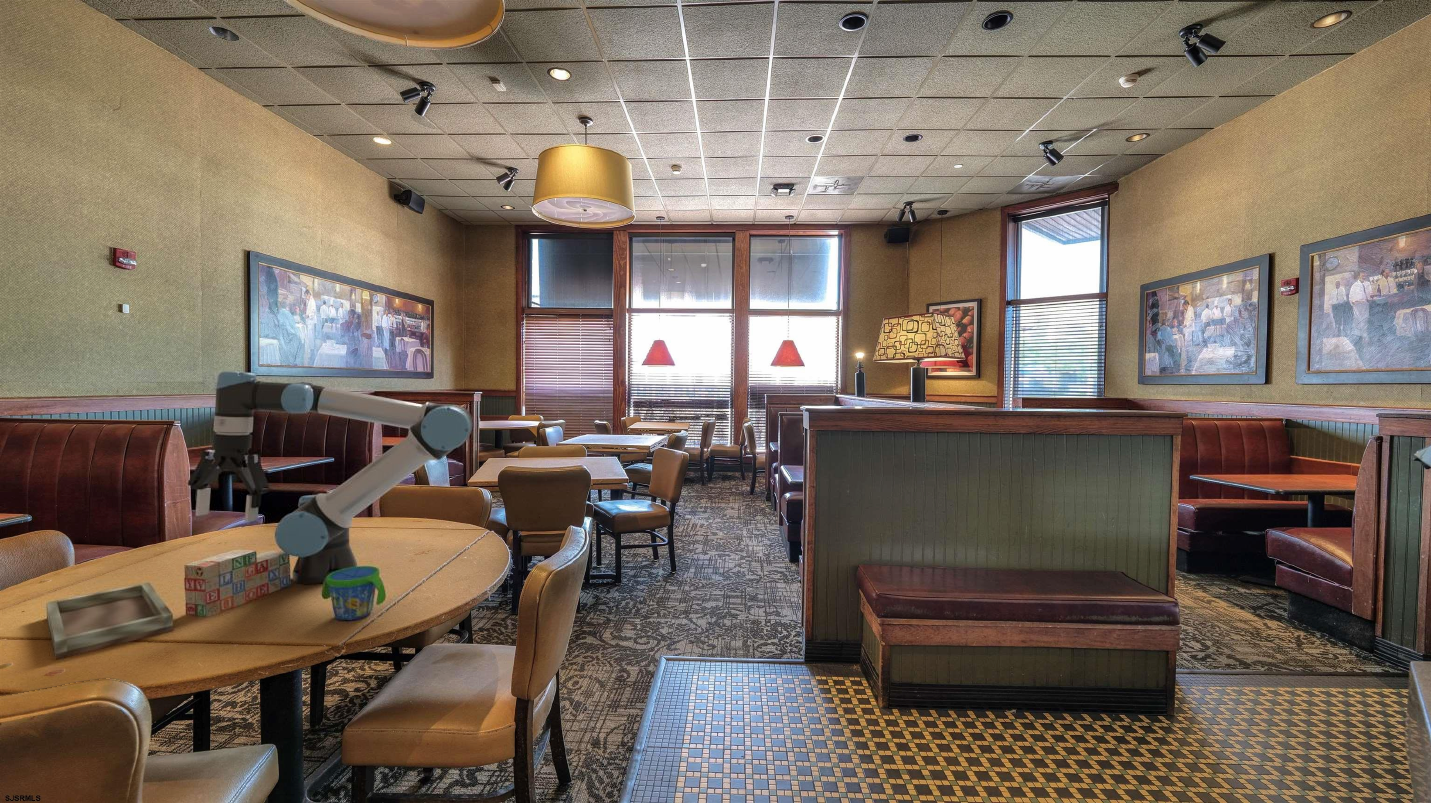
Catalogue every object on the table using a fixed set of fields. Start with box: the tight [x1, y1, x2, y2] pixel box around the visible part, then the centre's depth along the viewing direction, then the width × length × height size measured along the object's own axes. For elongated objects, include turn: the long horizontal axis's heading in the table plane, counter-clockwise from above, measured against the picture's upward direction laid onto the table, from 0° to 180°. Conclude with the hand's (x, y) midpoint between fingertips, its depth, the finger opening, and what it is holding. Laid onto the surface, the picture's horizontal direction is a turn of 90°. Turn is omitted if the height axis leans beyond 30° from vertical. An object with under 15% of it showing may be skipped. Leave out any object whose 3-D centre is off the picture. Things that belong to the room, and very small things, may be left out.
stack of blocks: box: [183, 549, 291, 618], centre depth 144 cm, size 21×6×12 cm, turn 168°
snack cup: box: [321, 565, 387, 621], centre depth 135 cm, size 16×10×10 cm
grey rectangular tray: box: [45, 582, 174, 660], centre depth 129 cm, size 17×31×4 cm, turn 52°
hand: (226, 517), depth 143 cm, fingers open, 13 cm apart
